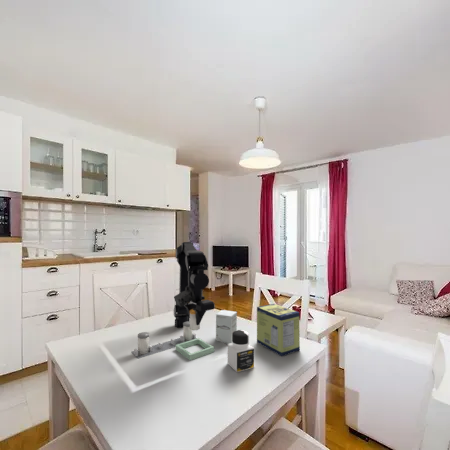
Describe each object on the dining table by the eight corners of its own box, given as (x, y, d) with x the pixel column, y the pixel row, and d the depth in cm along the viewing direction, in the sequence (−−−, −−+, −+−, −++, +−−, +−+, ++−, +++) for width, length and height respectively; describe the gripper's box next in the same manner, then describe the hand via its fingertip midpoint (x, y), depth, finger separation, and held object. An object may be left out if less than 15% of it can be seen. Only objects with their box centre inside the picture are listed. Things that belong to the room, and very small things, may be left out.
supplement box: (215, 343, 111) (215, 314, 112) (221, 337, 118) (222, 309, 119) (231, 346, 109) (231, 316, 109) (237, 339, 115) (237, 311, 116)
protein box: (273, 337, 118) (273, 303, 119) (300, 350, 105) (300, 312, 106) (256, 342, 113) (256, 306, 113) (281, 357, 100) (281, 316, 100)
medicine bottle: (236, 372, 88) (237, 337, 89) (227, 363, 95) (227, 330, 95) (254, 367, 92) (254, 333, 92) (243, 359, 98) (243, 327, 98)
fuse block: (190, 337, 118) (190, 319, 118) (199, 342, 112) (199, 323, 112) (130, 354, 101) (131, 333, 101) (137, 362, 95) (137, 339, 95)
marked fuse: (196, 325, 105) (196, 308, 105) (202, 328, 102) (202, 310, 102) (187, 328, 103) (187, 310, 103) (193, 331, 99) (193, 312, 99)
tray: (198, 345, 110) (198, 337, 110) (214, 354, 101) (214, 346, 101) (175, 352, 103) (175, 344, 103) (190, 363, 94) (190, 355, 94)
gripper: (166, 282, 105) (165, 321, 104) (190, 290, 90) (189, 335, 90) (189, 279, 112) (189, 315, 111) (215, 286, 97) (215, 328, 97)
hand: (194, 323), depth 102 cm, fingers closed on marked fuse, 4 cm apart
